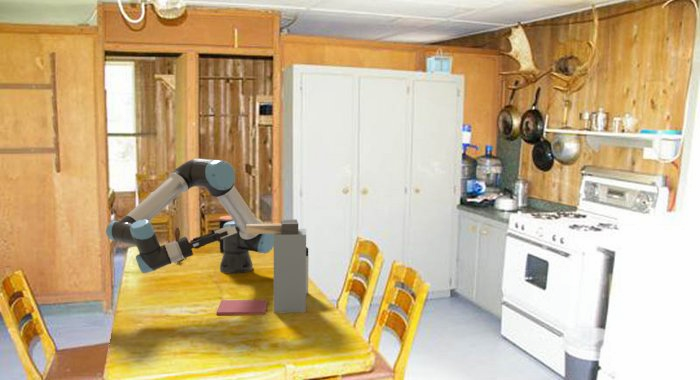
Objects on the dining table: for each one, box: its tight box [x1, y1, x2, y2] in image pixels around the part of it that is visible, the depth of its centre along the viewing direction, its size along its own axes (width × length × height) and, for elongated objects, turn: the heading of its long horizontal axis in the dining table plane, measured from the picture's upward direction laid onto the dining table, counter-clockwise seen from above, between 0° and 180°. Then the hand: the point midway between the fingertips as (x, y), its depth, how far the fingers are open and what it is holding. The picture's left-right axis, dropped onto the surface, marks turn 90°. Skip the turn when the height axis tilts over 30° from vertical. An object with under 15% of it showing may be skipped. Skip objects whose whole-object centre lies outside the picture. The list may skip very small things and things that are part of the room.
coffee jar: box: [218, 214, 233, 254], centre depth 302 cm, size 11×11×18 cm
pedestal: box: [273, 228, 307, 314], centre depth 219 cm, size 10×12×30 cm
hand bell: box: [170, 226, 187, 261], centre depth 285 cm, size 8×8×16 cm
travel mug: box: [306, 246, 309, 296], centre depth 236 cm, size 6×7×20 cm
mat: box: [215, 299, 268, 316], centre depth 220 cm, size 13×18×1 cm
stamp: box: [246, 218, 299, 235], centre depth 215 cm, size 8×19×4 cm, turn 100°
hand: (233, 228), depth 222 cm, fingers open, 13 cm apart
